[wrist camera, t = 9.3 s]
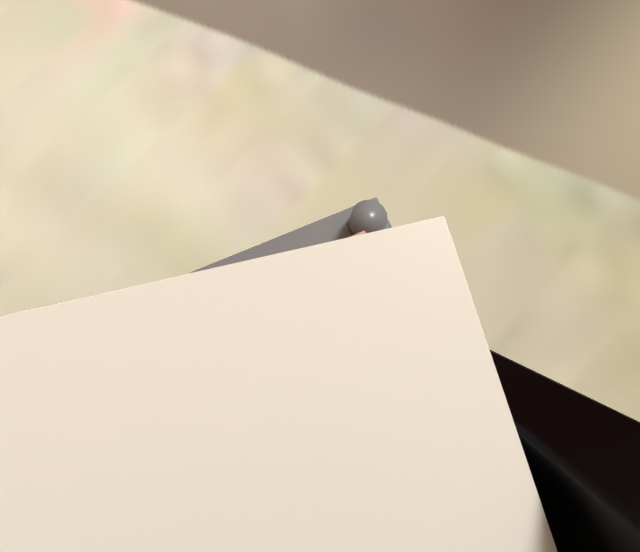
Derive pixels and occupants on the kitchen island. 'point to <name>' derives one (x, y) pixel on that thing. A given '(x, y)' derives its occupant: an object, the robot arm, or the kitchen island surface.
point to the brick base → (319, 232)
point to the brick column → (267, 411)
